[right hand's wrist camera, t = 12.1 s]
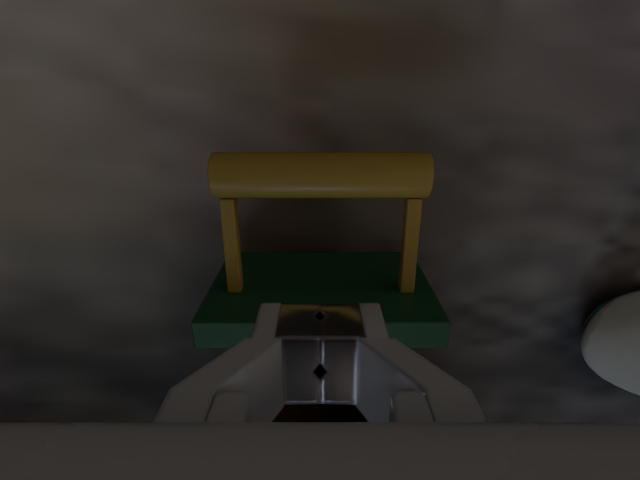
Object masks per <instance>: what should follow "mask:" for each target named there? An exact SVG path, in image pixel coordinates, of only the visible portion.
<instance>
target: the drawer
mask: <svg viewBox="0 0 640 480" xmlns="http://www.w3.org/2000/svg"><path fill="white" fill-rule="evenodd" d="M433 181H434V163H433V158H432V155H431V154H430V153H429V152H213V153H211V155H210V157H209V161H208V184H209V189H210V192H211V195H212V196H213V197H214V198H220V200H219V202H220V213H221V224H222V235H223V245H224V256H225V262H224V264H223V265H222V267H221V269H220V271H219V273H218V275H217V276H216V278H215V280H214V282H213V284H212V286H211V288H210V289H209V291H208V293H207V295H206V297H205V299H204V300H203V302H202V304H201V306H200V308H199V310H198V311H197V313H196V315H195V317H194V319H193V321H192V323H191V325H192V332H193V340H194V347H195V348H229V349H230V348H231V347H233V346H234V345H236V344H237V343H239V342H240V341H242V340H243V339H245V338H251V336H252V332H253V329H254V325H255V321H256V318H257V314H258V311H259V307H260V305H261V304H262V303H281V304H282V303H310V304H338V303H379V304H380V308H381V311H382V315H383V318H384V322H385V325H386V329H387V332H388V336H389V338H395V339H397V340H398V341H400V342H401V343H403V344H404V345H406V346H407V347H409V348H410V349H412V350H413V348H447V346H448V338H449V331H450V321H449V319H448V317H447V315H446V313H445V312H444V310H443V308H442V306H441V304H440V303H439V301H438V299H437V297H436V295H435V294H434V292H433V290H432V288H431V286H430V285H429V283H428V281H427V279H426V277H425V276H424V274H423V272H422V270H421V268H420V267H419V265H418V263H417V253H418V242H419V231H420V220H421V210H422V198H427V197H429V195H430V193H431V191H432V187H433ZM237 198H405V202H404V215H403V228H402V241H401V252H241V249H240V236H239V223H238V210H237ZM272 422H368V421H367V419H366V418H365V417H364V416H363V414H362V413H361V412H360V411H359V409H358V408H357V407H356V405H346V404H294V405H284V407H283V409H282V410H281V411H280V412H279V414H278V415H277V416H276V417H275V418H274V420H273V421H272Z"/></svg>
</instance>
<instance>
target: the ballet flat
mask: <svg viewBox="0 0 640 480" xmlns="http://www.w3.org/2000/svg"><path fill="white" fill-rule="evenodd" d="M581 352H582V355H583V358H584V360H585V361H586V363H587V365H588V366H589V367H590V368H591V369H592V370H593V371H594V372H595V373H596V374H598V375H599V376H600V377H601V378H603V379H604V380H606V381H608V382H610V383H612V384H614V385H616V386H618V387H620V388H622V389H624V390H627V391H629V392H631V393H634V394H637V395H640V290H638V291H634V292H629V293H626V294H623V295H620V296H617V297H615V298H613V299H610V300H608V301H606V302H605V303H603V304H601V305H600V306H598V307H597V308H596V309H595V310H594V311H592V312H591V314H590V315H589V316H588V317H587V319H586V320H585V322H584V324H583V327H582V332H581Z"/></svg>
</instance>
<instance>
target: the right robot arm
mask: <svg viewBox="0 0 640 480" xmlns="http://www.w3.org/2000/svg"><path fill="white" fill-rule="evenodd" d="M294 404H346V405H356V407H357V408H358V409H359V411H360V412H361V413H362V414H363V416H364V417H365V418H366V419H367V421H368V422H272V421H273V420H274V418H275V417H276V416H277V415H278V414H279V412H280V411H281V410H282V409H283V407H284V405H294ZM0 480H640V422H487V421H486V419H485V417H484V415H483V413H482V411H481V409H480V407H479V405H478V403H477V401H476V399H475V397H474V395H473V393H472V391H471V389H470V388H468V387H467V386H465V385H464V384H462V383H461V382H459V381H458V380H456V379H455V378H453V377H452V376H450V375H449V374H447V373H446V372H444V371H443V370H441V369H440V368H438V367H437V366H435V365H434V364H432V363H431V362H430V361H428V360H427V359H425V358H424V357H422V356H421V355H419V354H418V353H416V352H415V351H413V350H412V349H410V348H409V347H407V346H406V345H404V344H403V343H401V342H400V341H398V340H397V339H395V338H389V336H388V332H387V329H386V325H385V322H384V318H383V315H382V311H381V308H380V304H379V303H338V304H310V303H282V304H281V303H262V304H261V305H260V307H259V311H258V314H257V318H256V321H255V325H254V329H253V332H252V336H251V338H245V339H243V340H242V341H240V342H239V343H237V344H236V345H234V346H233V347H231V348H230V349H228V350H227V351H225V352H224V353H222V354H221V355H219V356H218V357H216V358H215V359H213V360H212V361H210V362H209V363H207V364H206V365H204V366H203V367H201V368H200V369H198V370H197V371H195V372H194V373H192V374H191V375H189V376H188V377H187V378H185V379H184V380H182V381H181V382H179V383H178V384H176V385H175V386H173V387H172V388H170V389H169V391H168V393H167V395H166V397H165V399H164V401H163V403H162V405H161V407H160V409H159V411H158V413H157V415H156V417H155V419H154V421H153V422H0Z"/></svg>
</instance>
